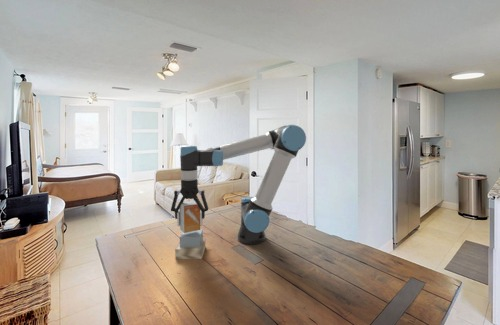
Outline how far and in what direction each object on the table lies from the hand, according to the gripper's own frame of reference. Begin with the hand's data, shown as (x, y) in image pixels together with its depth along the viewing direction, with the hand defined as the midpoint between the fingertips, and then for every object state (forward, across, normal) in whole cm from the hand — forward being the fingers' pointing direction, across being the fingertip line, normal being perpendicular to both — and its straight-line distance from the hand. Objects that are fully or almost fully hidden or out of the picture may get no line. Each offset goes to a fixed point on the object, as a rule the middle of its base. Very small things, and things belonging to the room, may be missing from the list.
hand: (190, 225), depth 121 cm
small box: (+2, 0, 0) cm, 2 cm away
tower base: (+14, 0, 0) cm, 14 cm away
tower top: (+9, 0, 0) cm, 9 cm away
